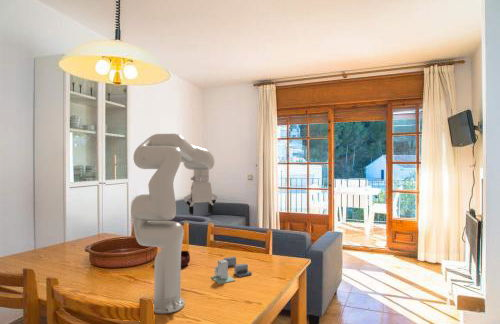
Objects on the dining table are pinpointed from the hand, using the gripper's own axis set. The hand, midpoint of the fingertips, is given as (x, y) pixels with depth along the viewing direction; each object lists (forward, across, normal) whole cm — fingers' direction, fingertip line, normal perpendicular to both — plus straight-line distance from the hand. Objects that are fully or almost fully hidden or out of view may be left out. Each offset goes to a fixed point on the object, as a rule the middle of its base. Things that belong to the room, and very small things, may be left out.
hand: (200, 213), depth 151 cm
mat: (+28, +5, -16) cm, 33 cm away
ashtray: (+29, -7, +16) cm, 34 cm away
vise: (+28, +16, -7) cm, 33 cm away
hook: (+28, +5, -14) cm, 32 cm away
